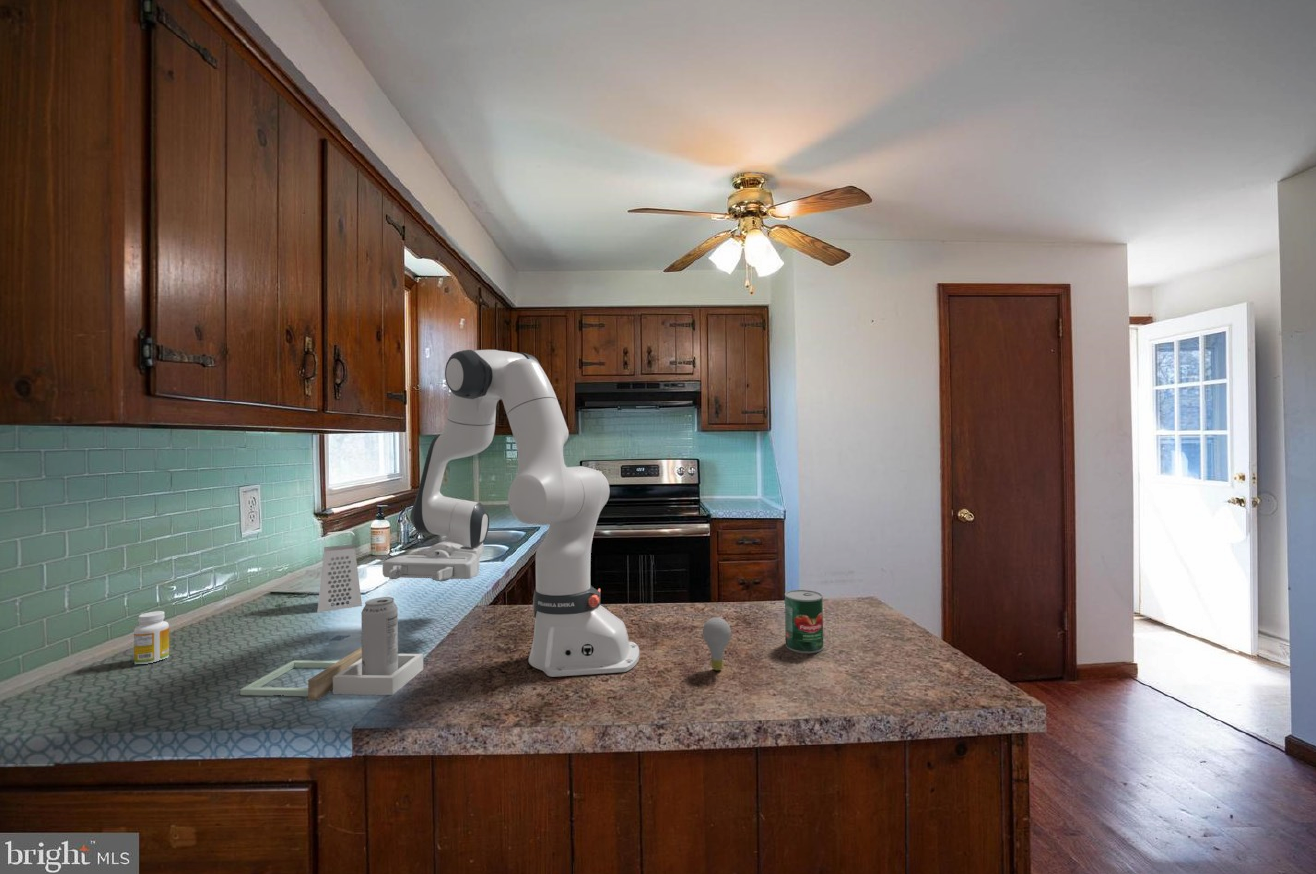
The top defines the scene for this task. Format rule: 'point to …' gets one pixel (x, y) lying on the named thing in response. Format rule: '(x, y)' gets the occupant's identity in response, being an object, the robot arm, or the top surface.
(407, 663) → the socket
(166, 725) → the top surface
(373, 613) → the energy drink can
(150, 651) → the supplement bottle
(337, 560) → the grater
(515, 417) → the robot arm
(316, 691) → the rail
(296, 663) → the socket
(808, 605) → the canned tomato
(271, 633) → the top surface
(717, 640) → the light bulb
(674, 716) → the top surface
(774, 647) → the top surface
